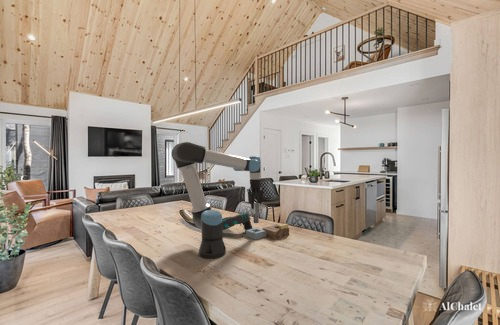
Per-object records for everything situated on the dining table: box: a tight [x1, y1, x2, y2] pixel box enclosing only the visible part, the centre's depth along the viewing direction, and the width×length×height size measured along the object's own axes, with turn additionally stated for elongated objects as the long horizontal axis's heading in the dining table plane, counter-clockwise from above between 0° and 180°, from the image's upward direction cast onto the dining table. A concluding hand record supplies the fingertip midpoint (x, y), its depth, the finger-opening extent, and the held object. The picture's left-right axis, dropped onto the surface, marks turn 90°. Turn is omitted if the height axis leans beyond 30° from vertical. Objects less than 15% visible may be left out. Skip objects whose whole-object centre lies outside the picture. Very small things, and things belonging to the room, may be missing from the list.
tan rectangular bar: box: [278, 223, 289, 229], centre depth 166 cm, size 7×2×2 cm, turn 128°
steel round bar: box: [253, 202, 260, 224], centre depth 166 cm, size 3×3×13 cm
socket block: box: [261, 224, 290, 240], centre depth 168 cm, size 14×12×5 cm
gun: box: [222, 211, 253, 235], centre depth 176 cm, size 7×29×15 cm, turn 86°
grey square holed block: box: [245, 227, 267, 241], centre depth 166 cm, size 10×10×4 cm
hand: (255, 212), depth 166 cm, fingers closed on steel round bar, 3 cm apart
